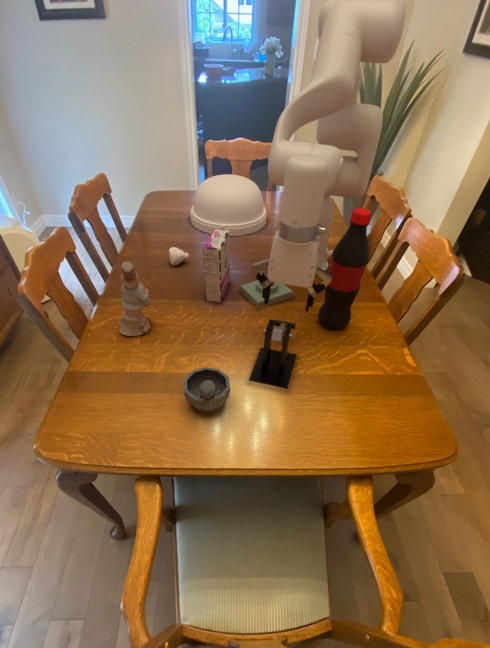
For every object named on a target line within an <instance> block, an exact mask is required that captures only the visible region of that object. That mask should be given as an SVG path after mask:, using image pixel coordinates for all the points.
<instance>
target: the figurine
mask: <svg viewBox="0 0 490 648" xmlns="http://www.w3.org/2000/svg"><path fill="white" fill-rule="evenodd" d="M120 267H121V268H120V269H121V275H120V276H119V278H120V282H121V284H122V285H121V286H120V287H121V288H120V294H121V300H120V301H121V306H122V309H124V310H123V312H122V315H121V316H120V321H119V322H118V326H119V332H120V334H121V335H123V336H126V337H136V336H141V335H144V334H146V333H148V332H149V330H150V329H151V325H150V322H149V319H148V318H147V317H146V316H144V314H143V312H142V311H143V309H144V308H147V307H149V306H150V305H151V303H152V300H151V298H150V295H149V294H150V290H149V288H147V287H146V286H145V285H144V284H143V283H141V282H140V281H139V280H140V276H139V274H138V273H137V271H136V269H135V266H134V264H133V263H132V262H131V261H128V260H126V261H123V262H122V263H121V266H120Z"/></svg>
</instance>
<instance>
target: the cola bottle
mask: <svg viewBox="0 0 490 648" xmlns="http://www.w3.org/2000/svg"><path fill="white" fill-rule="evenodd" d="M371 218H372V211H371V210H370V209H367V208H364V207H357V208H354V209H353V211H352V213H351V216H350V219H349V223H350V224H349V226H348V228H347V230H346V232H345V233H344V234H343V235H342V237H341V238H340V239H339V241H338V242H337V244H336V245H335V247H334V248H333V249H332V250H333V253H332V256H331V260H330V264H329V267H328V268H329V270H328V272H327V273H328V274H330V275H331V276H332V281H331V282H330V283H329V285H328V286H327V287H326V288H325V289H324V301H323V303H322V305H321V306H320V309H319V310H318V315H317V316H318V318H317V319H318V324H319V325H320V327H322V328H323V329H325V330H327V331H331V332H341V331H342V330H345V329H346V328H347V327H348V325H349V323H350V322H351V318H352V305H353V303H354V302H355V300H356V298H357V296H358V294H359V292H360V290H361V285H362V280H363V278H364V274H365V271H366V268H367V265H368V263H369V260H370V248H369V246H370V245H369V241H368V240H369V239H368V234H367V231H368V230H367V229H368V226H369V225H370V222H371Z"/></svg>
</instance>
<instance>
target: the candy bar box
mask: <svg viewBox="0 0 490 648" xmlns="http://www.w3.org/2000/svg"><path fill="white" fill-rule="evenodd" d="M202 253H203V267H204V268H203V269H204V283H205V300H206V302H212V303H219V304H222V302H223V300H224V298H225V295H226V293H227V291H228V288H229V286H230V283H231V282H230V278H231V277H230V236H229V231H228V230H220V229H219V230H218V229H213V230H212V232H211V234H209V236H208V237H207V239H206V242H205V243H204V245H203V246H202Z"/></svg>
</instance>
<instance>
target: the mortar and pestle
mask: <svg viewBox="0 0 490 648" xmlns="http://www.w3.org/2000/svg"><path fill="white" fill-rule="evenodd" d="M183 394H184V397H185V400H186V401H187V402H188V403H189V404H190V405H191V406H192V407H194V408H195V409H196V410H197V411H199V412H200V413H205V414H212V413H214V412H217V411H218V410H219V409H220V408H222V406H223V405H225V402H226V401H227V400H228V398H229V397H230V394H231V383H230V378H229V375H227V374H226V373H224V372H223V371H222V370H221V369H220V368H213V367H207V366H206V367H205V366H204V367H201V368H197V369H194V370H191V371H190V372H189V373H188V374H187V376H186V377H185V378H184V379H183Z"/></svg>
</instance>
